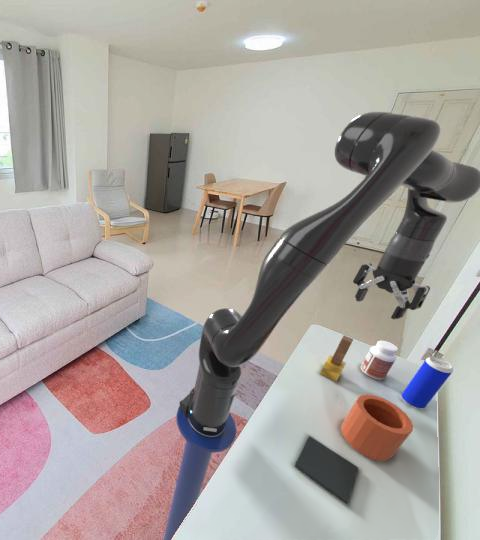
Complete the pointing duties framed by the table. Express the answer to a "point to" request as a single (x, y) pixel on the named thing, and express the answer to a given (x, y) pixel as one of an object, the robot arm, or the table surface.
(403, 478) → the table surface
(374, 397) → the jar
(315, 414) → the table surface
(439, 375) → the beverage can
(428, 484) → the table surface
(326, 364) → the sponge brush
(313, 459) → the mat
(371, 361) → the pill bottle
